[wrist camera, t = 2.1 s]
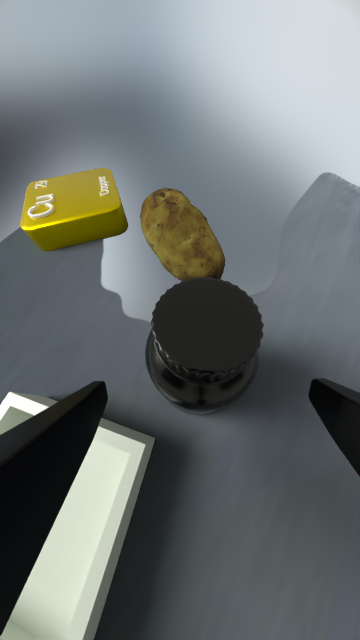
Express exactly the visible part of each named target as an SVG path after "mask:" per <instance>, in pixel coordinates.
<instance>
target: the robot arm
mask: <svg viewBox="0 0 360 640" xmlns="http://www.w3.org/2000/svg"><path fill="white" fill-rule="evenodd" d="M309 399H310V402H311V403H312V405H313V407H314V408H315V410H316V412H317V413H318V415H319V417H320V418H321V420H322V422H323V423H324V425H325V427H326V429H327V430H328V432H329V433H330V435H331V437H332V438H333V440H334V441H335V443H336V444H337V445H338V447H339V448H340V450H341V451H342V453H343V454H344V455H345V457H346V458H347V460H348V461H349V462H350V464H351V465H352V467H353V468H354V469H355V471H356V472H357V474H358V475H359V476H360V393H359V392H356V391H354V390H351V389H349V388H347V387H344V386H342V385H339V384H337V383H334V382H332V381H329V380H327V379H323V378H315V379H313V380H312V381H311V386H310V390H309ZM107 400H108V396H107V390H106V385H105V382H104V381H94V382H92V383H90V384H89V385H87V386H85V387H83V388H82V389H80V390H78V391H76V392H75V393H73V394H71V395H69V396H68V397H66V398H64V399H62V400H61V401H59V402H57V403H55V404H54V405H52V406H50V407H48V408H47V409H45V410H43V411H41V412H40V413H38V414H36V415H34V416H33V417H31V418H29V419H27V420H25V421H24V422H22V423H20V424H18V425H17V426H15V427H13V428H11V429H10V430H8V431H6V432H4V433H3V434H1V435H0V636H1V635H2V633H3V631H4V629H5V627H6V625H7V622H8V620H9V618H10V616H11V614H12V612H13V610H14V608H15V605H16V603H17V601H18V599H19V597H20V595H21V593H22V591H23V588H24V586H25V584H26V582H27V580H28V578H29V576H30V573H31V571H32V569H33V567H34V565H35V563H36V561H37V559H38V556H39V554H40V552H41V550H42V548H43V546H44V544H45V541H46V539H47V537H48V535H49V533H50V531H51V529H52V527H53V524H54V522H55V520H56V518H57V516H58V514H59V512H60V510H61V507H62V505H63V503H64V501H65V499H66V497H67V495H68V492H69V490H70V488H71V486H72V484H73V482H74V480H75V478H76V475H77V473H78V471H79V469H80V467H81V465H82V463H83V461H84V458H85V456H86V454H87V452H88V450H89V448H90V446H91V443H92V441H93V439H94V437H95V434H96V431H97V429H98V426H99V423H100V420H101V418H102V415H103V412H104V409H105V406H106V404H107Z"/></svg>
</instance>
